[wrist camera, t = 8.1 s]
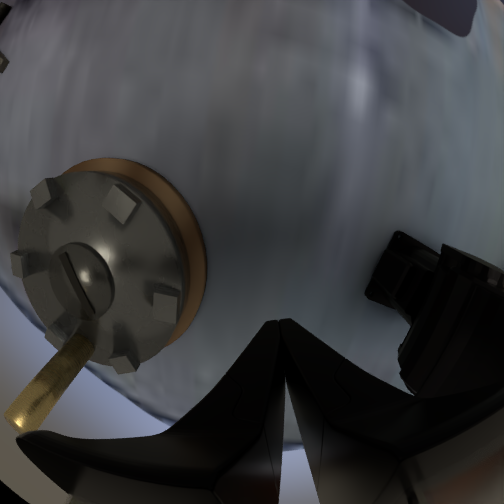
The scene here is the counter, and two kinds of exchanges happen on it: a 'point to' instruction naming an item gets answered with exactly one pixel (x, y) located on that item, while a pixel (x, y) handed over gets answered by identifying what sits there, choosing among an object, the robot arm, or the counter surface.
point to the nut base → (181, 217)
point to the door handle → (0, 13)
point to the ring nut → (97, 280)
